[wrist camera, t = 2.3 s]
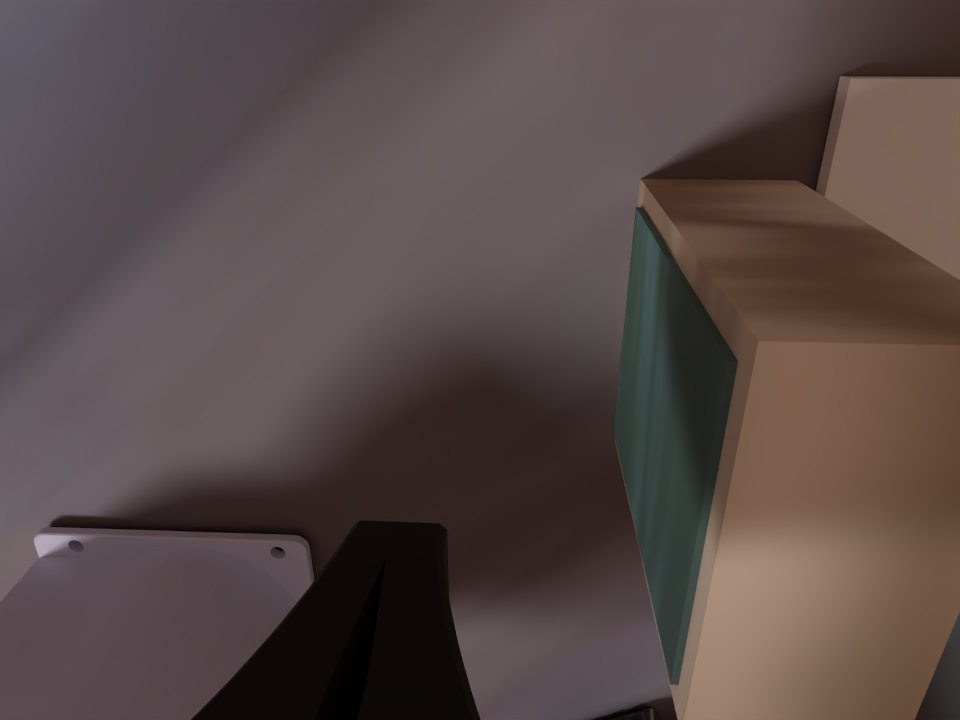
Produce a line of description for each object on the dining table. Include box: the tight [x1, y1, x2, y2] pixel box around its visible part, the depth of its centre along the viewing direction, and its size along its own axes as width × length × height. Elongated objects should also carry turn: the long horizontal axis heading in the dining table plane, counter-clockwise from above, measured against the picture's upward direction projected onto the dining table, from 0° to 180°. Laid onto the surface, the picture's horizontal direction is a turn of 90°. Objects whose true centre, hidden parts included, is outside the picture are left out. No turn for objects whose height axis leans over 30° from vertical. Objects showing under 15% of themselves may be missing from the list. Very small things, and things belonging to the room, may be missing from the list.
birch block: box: [613, 179, 960, 720], centre depth 15 cm, size 4×8×10 cm, turn 0°
